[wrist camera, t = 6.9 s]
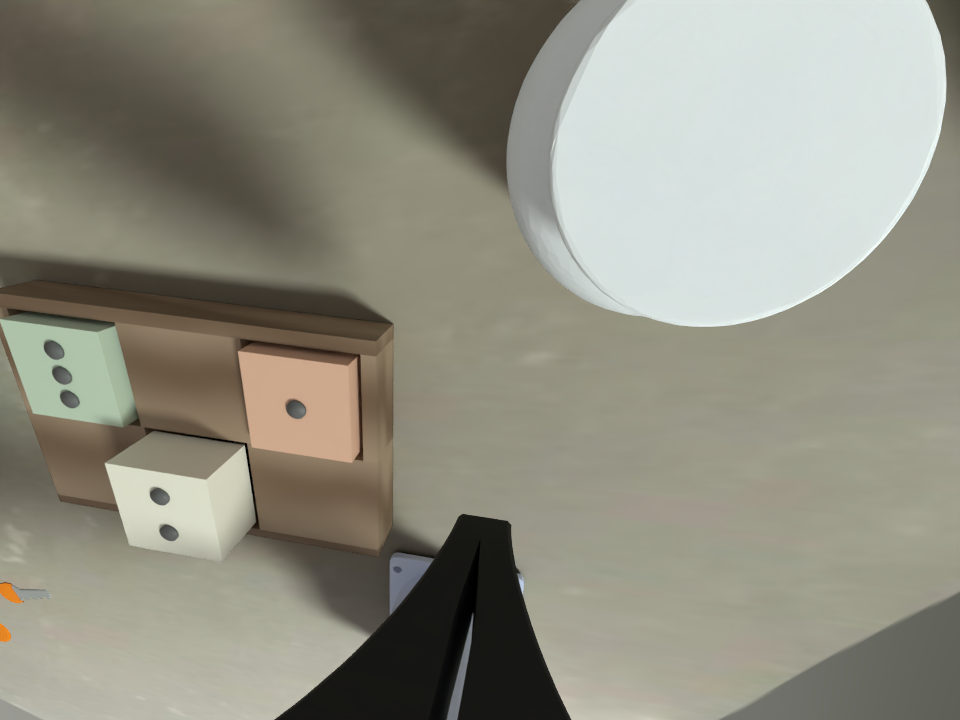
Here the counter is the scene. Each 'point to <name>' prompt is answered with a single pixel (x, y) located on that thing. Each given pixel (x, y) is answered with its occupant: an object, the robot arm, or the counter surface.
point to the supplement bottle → (722, 148)
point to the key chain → (18, 601)
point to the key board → (223, 407)
